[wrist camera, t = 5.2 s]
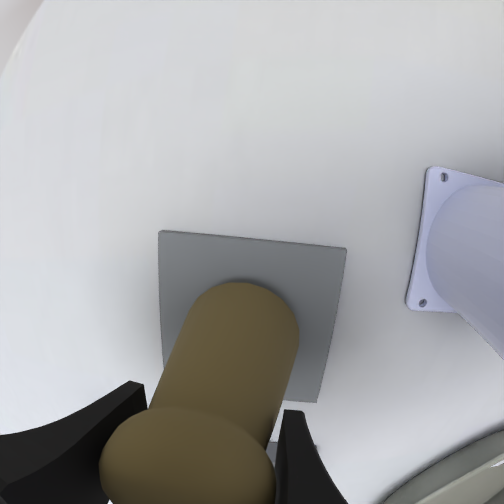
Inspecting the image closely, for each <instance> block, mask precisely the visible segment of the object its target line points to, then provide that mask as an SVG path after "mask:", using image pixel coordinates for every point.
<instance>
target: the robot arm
mask: <svg viewBox="0 0 504 504" xmlns="http://www.w3.org/2000/svg"><path fill="white" fill-rule="evenodd" d="M442 173H444V175H445V180H444V181H442V180H441V177H440V176H441V174H442ZM422 299H424V303H423V304H421V305H419V302H420V300H422ZM406 305H407V307H408V308H409V309H410V310H413V311H431V312H453V313H458V314H459V315H460V316H461V317H462V318H464V319H465V320H466V321H467V322H468V323H469V324H470V325H471V326H472V327H473V328H474V329H475V330H476V331H477V332H478V333H479V334H480V335H481V336H482V337H483V338H484V339H485V341H486V342H487V343H488V344H489V345H490V346H491V347H492V348H493V349H494V350H495V351H496V352H497V353H498V354H499V355H500V356H501V357H502V358H503V360H504V184H503V183H499V182H496V181H493V180H489V179H486V178H482V177H478V176H475V175H471V174H467V173H463V172H459V171H455V170H451V169H447V168H442V167H438V166H432V167H430V168H429V169H428V170H427V173H426V182H425V192H424V201H423V209H422V217H421V224H420V231H419V237H418V243H417V249H416V254H415V260H414V265H413V270H412V275H411V280H410V284H409V289H408V293H407V297H406ZM144 410H148V408H147V402H146V396H145V390H144V384H140V383H137V382H133V381H128V382H126V383H125V384H123V385H121V386H120V387H118V388H117V389H115V390H113V391H112V392H110V393H109V394H107V395H105V396H104V397H102V398H100V399H99V400H97V401H95V402H94V403H92V404H90V405H88V406H87V407H85V408H83V409H81V410H79V411H77V412H75V413H73V414H71V415H69V416H67V417H65V418H62V419H60V420H58V421H55V422H53V423H50V424H47V425H44V426H41V427H38V428H34V429H30V430H26V431H23V432H18V433H12V434H6V435H0V504H108V501H109V498H108V496H107V495H106V494H105V492H104V491H103V489H102V486H101V481H100V474H99V460H100V457H101V453H102V450H103V448H104V446H105V445H106V443H107V441H108V440H109V438H110V437H111V436H112V434H113V433H114V431H115V430H116V429H117V427H118V426H119V425H120V424H122V423H123V422H124V421H126V420H127V419H128V418H130V417H131V416H133V415H135V414H138V413H140V412H142V411H144ZM274 470H275V475H276V498H275V504H348V503H347V501H346V500H345V499H344V497H343V496H342V495H341V493H340V492H339V490H338V489H337V487H336V486H335V484H334V482H333V481H332V479H331V477H330V476H329V474H328V472H327V470H326V468H325V466H324V464H323V462H322V460H321V458H320V456H319V454H318V452H317V450H316V447H315V445H314V443H313V440H312V437H311V435H310V432H309V429H308V426H307V423H306V419H305V414H304V413H303V412H302V411H298V410H286V409H284V414H283V419H282V424H281V429H280V434H279V439H278V444H277V451H276V459H275V467H274Z"/></svg>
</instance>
